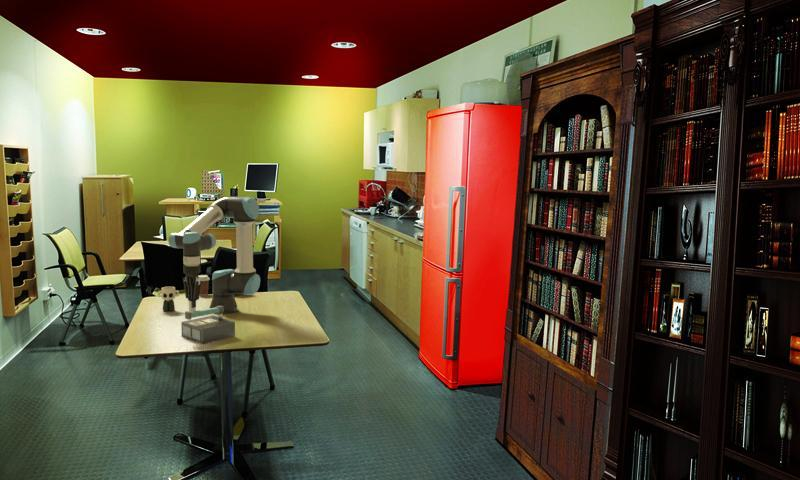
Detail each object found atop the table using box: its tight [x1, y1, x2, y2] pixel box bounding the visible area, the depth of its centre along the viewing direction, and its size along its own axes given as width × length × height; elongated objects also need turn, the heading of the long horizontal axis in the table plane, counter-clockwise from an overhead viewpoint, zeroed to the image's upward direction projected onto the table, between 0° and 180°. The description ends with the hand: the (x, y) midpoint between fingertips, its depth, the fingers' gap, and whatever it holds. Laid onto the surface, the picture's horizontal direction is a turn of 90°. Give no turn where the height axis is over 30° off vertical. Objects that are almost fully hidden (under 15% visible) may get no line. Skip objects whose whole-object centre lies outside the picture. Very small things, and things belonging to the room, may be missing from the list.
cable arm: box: [184, 306, 224, 321], centre depth 264 cm, size 19×3×3 cm, turn 142°
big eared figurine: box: [157, 286, 180, 312], centre depth 313 cm, size 11×7×13 cm, turn 108°
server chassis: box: [181, 313, 236, 345], centre depth 266 cm, size 18×17×10 cm
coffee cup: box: [198, 274, 211, 297], centre depth 356 cm, size 9×9×12 cm
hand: (192, 313), depth 267 cm, fingers closed
